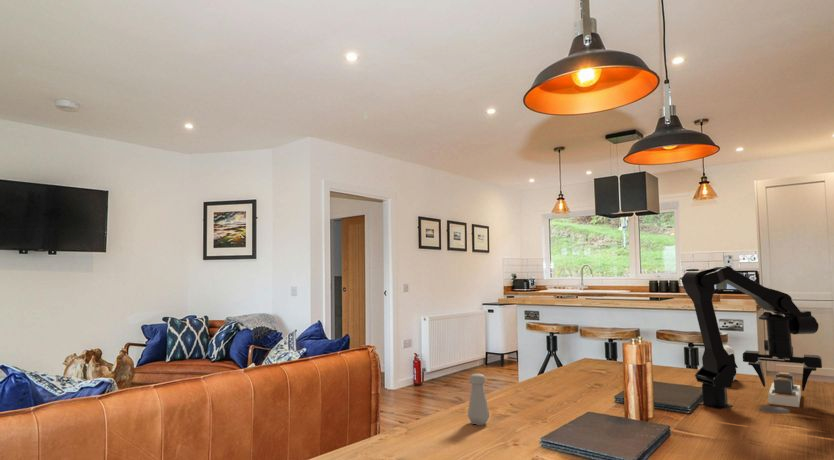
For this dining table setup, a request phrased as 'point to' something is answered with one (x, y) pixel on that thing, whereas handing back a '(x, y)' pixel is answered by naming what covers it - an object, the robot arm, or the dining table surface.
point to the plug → (783, 386)
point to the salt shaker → (478, 400)
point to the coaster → (774, 409)
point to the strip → (783, 398)
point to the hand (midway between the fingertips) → (783, 388)
